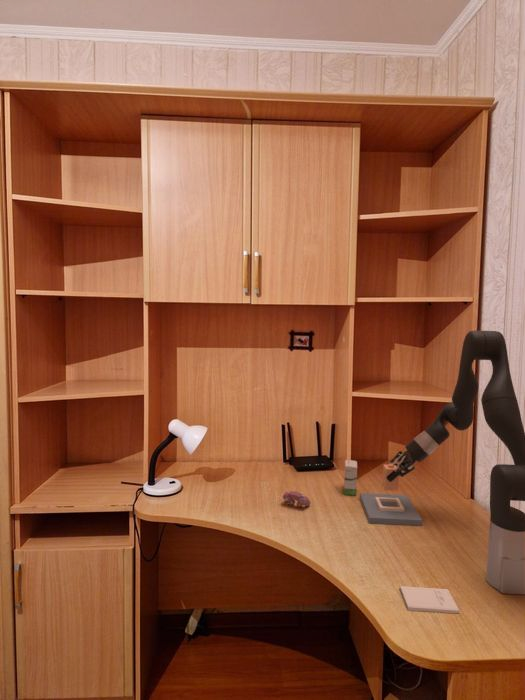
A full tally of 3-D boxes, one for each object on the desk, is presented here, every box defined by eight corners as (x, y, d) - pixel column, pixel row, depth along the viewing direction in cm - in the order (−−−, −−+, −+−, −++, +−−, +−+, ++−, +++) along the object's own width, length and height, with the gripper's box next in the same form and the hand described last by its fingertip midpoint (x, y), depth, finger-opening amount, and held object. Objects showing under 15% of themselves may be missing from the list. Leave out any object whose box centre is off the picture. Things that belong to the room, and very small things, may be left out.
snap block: (397, 490, 155) (398, 467, 154) (385, 490, 155) (386, 466, 154) (394, 485, 159) (395, 462, 159) (382, 485, 160) (383, 462, 159)
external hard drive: (399, 590, 114) (447, 593, 113) (407, 612, 106) (459, 615, 105) (399, 585, 114) (447, 587, 113) (407, 606, 106) (459, 609, 105)
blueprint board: (422, 525, 148) (422, 516, 147) (369, 523, 149) (369, 514, 148) (406, 500, 167) (406, 492, 167) (359, 497, 169) (360, 490, 168)
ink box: (356, 496, 170) (357, 467, 169) (343, 495, 171) (344, 466, 170) (356, 487, 178) (357, 459, 177) (344, 486, 179) (345, 458, 178)
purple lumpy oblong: (283, 507, 163) (280, 494, 160) (288, 497, 166) (285, 485, 163) (307, 513, 158) (305, 500, 155) (311, 503, 162) (309, 490, 159)
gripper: (409, 433, 162) (375, 462, 164) (421, 445, 148) (383, 477, 150) (422, 447, 162) (388, 476, 164) (435, 460, 148) (398, 492, 150)
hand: (386, 476), depth 157 cm, fingers closed on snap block, 4 cm apart
